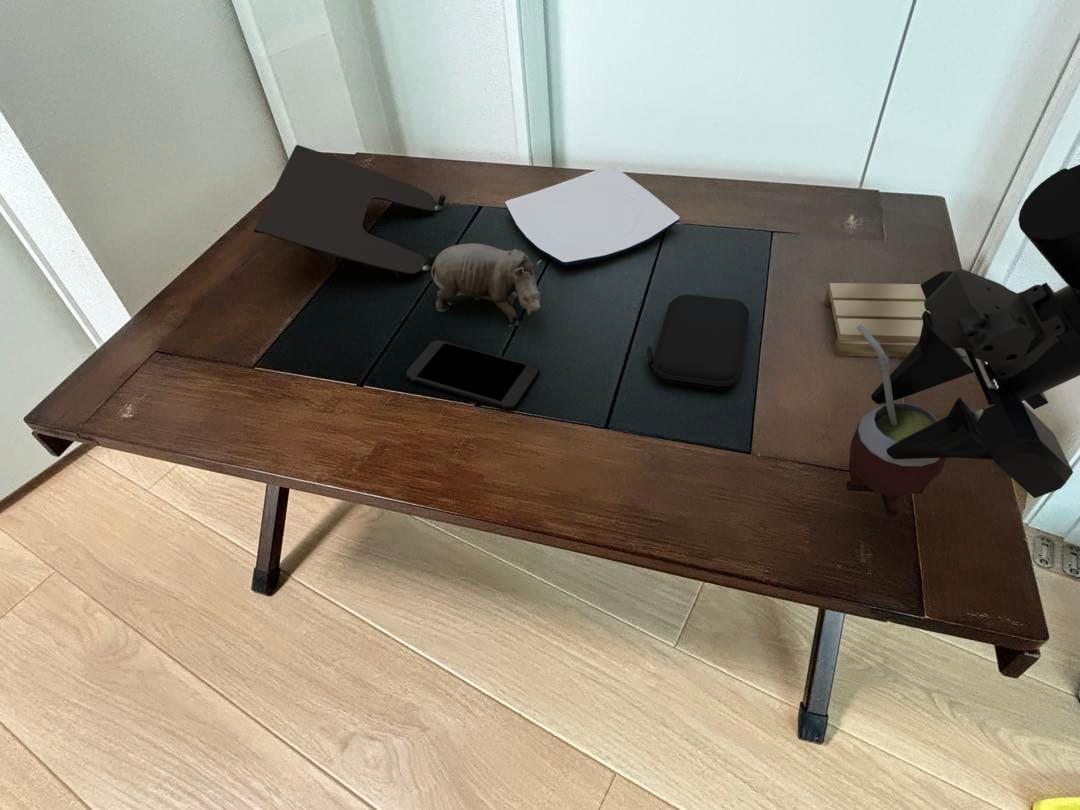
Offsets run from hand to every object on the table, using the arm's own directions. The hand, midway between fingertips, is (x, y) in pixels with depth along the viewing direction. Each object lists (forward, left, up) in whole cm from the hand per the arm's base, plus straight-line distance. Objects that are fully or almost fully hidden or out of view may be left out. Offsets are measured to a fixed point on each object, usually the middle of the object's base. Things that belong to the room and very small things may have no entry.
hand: (881, 426), depth 58 cm
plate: (+29, -49, -13) cm, 58 cm away
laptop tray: (+61, -44, -13) cm, 76 cm away
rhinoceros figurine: (+39, -29, -13) cm, 50 cm away
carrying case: (+14, -23, -13) cm, 30 cm away
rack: (-7, -27, -13) cm, 31 cm away
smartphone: (+40, -17, -13) cm, 45 cm away
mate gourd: (-2, 0, -8) cm, 8 cm away
